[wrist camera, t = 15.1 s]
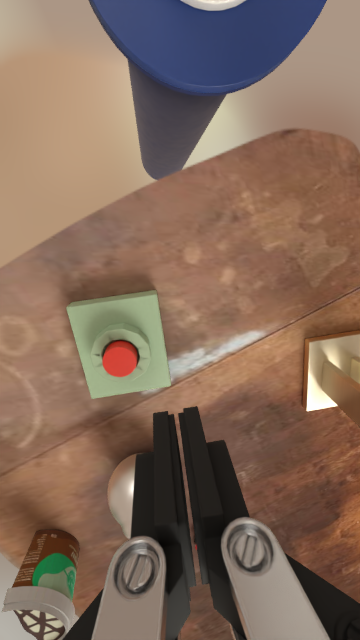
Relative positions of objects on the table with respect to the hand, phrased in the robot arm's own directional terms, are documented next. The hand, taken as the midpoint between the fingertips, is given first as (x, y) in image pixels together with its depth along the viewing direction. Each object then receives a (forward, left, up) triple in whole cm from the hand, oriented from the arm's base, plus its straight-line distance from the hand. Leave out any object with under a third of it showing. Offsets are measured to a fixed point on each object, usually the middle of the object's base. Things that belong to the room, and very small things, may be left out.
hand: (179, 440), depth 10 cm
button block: (+6, -5, -24) cm, 25 cm away
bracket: (+15, +23, -24) cm, 36 cm away
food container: (+40, -21, -24) cm, 51 cm away
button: (+6, -5, -20) cm, 22 cm away
